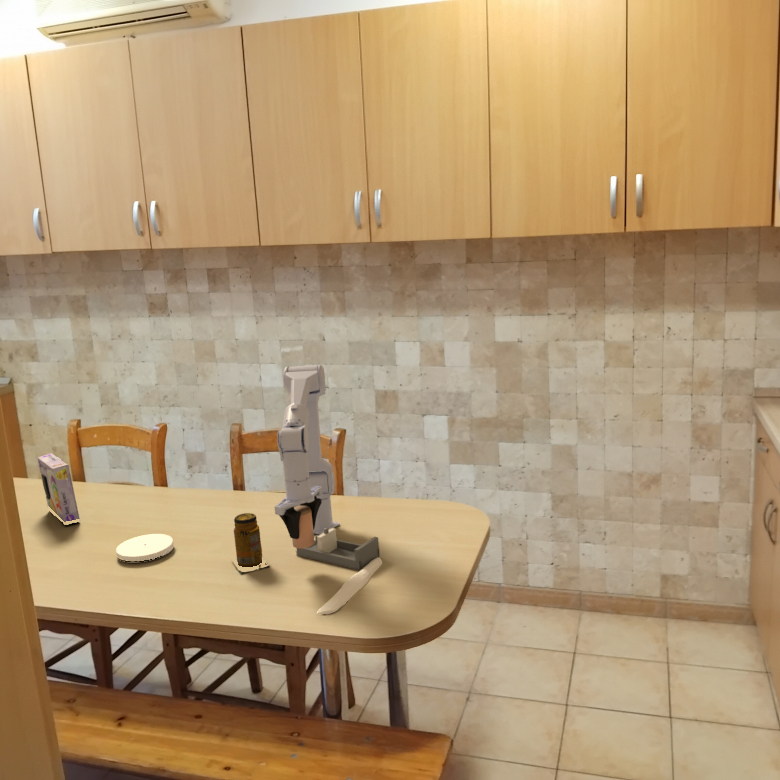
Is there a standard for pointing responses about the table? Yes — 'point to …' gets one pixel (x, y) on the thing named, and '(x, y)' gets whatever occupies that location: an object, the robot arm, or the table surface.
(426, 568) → the table surface
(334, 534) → the pusher
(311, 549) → the grey tray
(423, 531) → the table surface
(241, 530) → the condiment
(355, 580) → the spatula
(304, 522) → the jar
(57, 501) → the cake pan box
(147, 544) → the plastic lid
